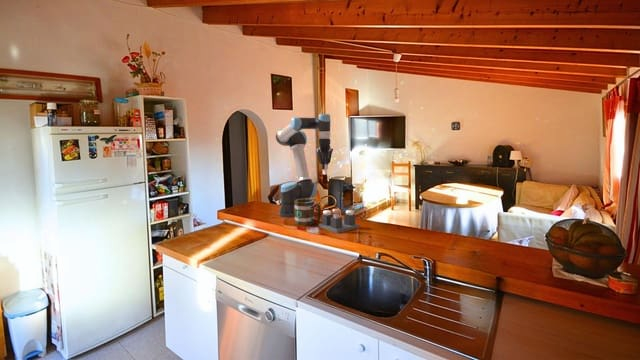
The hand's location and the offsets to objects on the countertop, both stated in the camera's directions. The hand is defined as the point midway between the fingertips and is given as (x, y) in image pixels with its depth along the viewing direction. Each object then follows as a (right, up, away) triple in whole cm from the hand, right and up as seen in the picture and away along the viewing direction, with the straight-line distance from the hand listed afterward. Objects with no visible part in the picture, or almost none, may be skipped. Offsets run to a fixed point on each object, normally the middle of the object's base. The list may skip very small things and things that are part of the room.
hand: (324, 174), depth 228 cm
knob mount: (+9, -34, -10) cm, 36 cm away
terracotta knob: (+7, -30, -17) cm, 35 cm away
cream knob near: (+1, -31, -10) cm, 33 cm away
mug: (-11, -33, 0) cm, 35 cm away
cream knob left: (+16, -31, -10) cm, 36 cm away
